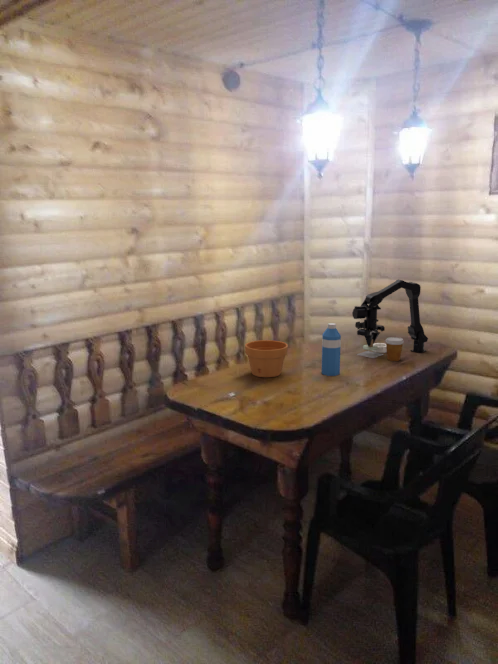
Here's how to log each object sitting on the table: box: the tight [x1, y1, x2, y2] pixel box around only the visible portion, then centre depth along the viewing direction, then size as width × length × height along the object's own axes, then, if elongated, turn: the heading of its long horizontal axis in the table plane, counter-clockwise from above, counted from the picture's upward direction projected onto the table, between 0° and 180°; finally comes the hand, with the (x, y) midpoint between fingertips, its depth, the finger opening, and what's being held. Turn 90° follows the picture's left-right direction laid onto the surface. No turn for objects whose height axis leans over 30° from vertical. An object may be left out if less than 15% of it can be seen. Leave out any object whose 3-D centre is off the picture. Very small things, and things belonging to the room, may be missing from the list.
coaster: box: [356, 350, 385, 359], centre depth 308 cm, size 11×11×1 cm
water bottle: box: [321, 322, 342, 377], centre depth 274 cm, size 9×9×25 cm
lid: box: [362, 339, 378, 351], centre depth 306 cm, size 8×8×5 cm
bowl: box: [371, 342, 387, 354], centre depth 315 cm, size 9×9×4 cm
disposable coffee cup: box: [384, 336, 404, 362], centre depth 297 cm, size 10×10×12 cm
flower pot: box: [244, 339, 289, 378], centre depth 276 cm, size 21×21×15 cm
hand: (370, 345), depth 307 cm, fingers closed on lid, 3 cm apart
